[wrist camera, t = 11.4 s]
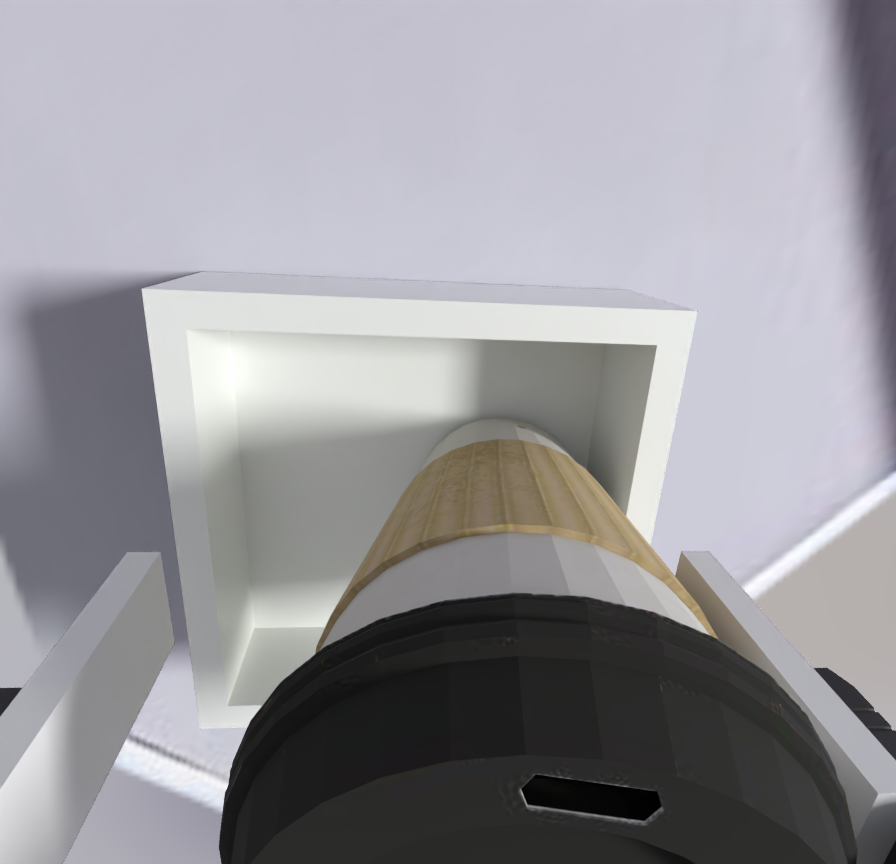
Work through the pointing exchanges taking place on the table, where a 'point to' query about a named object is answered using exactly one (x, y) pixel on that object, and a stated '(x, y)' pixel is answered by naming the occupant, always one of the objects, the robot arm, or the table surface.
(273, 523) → the bin
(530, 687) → the coffee cup
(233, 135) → the table surface
